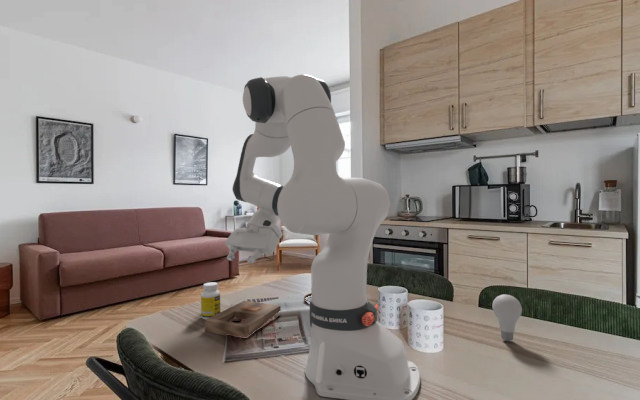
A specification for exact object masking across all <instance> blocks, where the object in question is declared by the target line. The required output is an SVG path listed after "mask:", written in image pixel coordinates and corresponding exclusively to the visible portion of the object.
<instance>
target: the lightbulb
mask: <svg viewBox="0 0 640 400" xmlns="http://www.w3.org/2000/svg"><path fill="white" fill-rule="evenodd" d="M491 306H492V311H493V314H494V315H495V317H496V318H497V322H498V324H499V330H500V337H501V338H502V340H504V341H505V342H510V341H511V342H512V341H513V340H514V332H515V331H516V324H517V322H518V320H519V319H520V317H521V316H522V313H523V308H522V304H521V302H520V300H518V299H517V298H516V297H514V296H513V295H510V294H500V295H497V296H496V297H495V298H494V299H493V301H492V305H491Z"/></svg>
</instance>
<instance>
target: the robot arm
mask: <svg viewBox="0 0 640 400" xmlns="http://www.w3.org/2000/svg"><path fill="white" fill-rule="evenodd" d="M242 104H243V107H244V110H245V113H246V116H247V117H248V118H249V119H250V120H251V121H252V122H253V123H254V122H255V125H254V126H255V127H254V132H253V133H252V134H249V135H248V136H247V137H246V138H245V140H244V143H243V146H242V148H241V152H240V158H239V163H238V167H237V172H236V176H235V178H234V182H233V184H232V193H233V195H234V197H235V199H236V200H238V201H241V202H244V203H248V204H250V205H253V206H254V207H258V208H257V210H256V211H255V212H254V213H253V214H252V216H251V218H250V219H249V221H248V222H247V224H246V225H245V226H240V227H239V228H236V229H234V230H233V231H232V232H231V234H230V235H228V237H227V239H226V240H225V243H224V245H225V246H226V247H227V248H228V249H229V251H228V252H229V253H228V255H227V256H226V259H227V260H228V261H234V259H235V258H236V256H235V254H236V253H237V251H238V252H239V251H240V252H247V253H253V254H252V255H249V256H248V257H247V258H246V261H247V262H248V263H249V264H254V263H255V261H256V260H257V259H259V258H260V257H261V256H262V255H263V254H265V255H271V254H273V252H274V251H275V250H276V249H277V246H278V245H279V242H280V239H281V238H282V237H283V234H284V233H283V232H282V231H281V229H280V228H279V227H278V225H277V222H278V221H279V220H280V221H281V223H282V226H284V228H286V229H287V231H289V232H291V233H294V234H300V235H306V236H307V235H309V236H319V235H327V234H328V238H327V240H326V243H325V245H324V247H323V249H322V250H321V251H320V252H319V253H317V255H316V256H315V257H314V259H313V260H312V263H311V265H310V266H311V267H310V275H311V277H310V278H311V280H310V281H311V282H310V283H311V287H310V288H312V297H311V300H309V301H310V305H309V326H310V328H311V332H310V344H309V352H308V355H307V361H306V365H305V367H304V373H305V376H306V379H307V380H308V381H309V382H311V384H312V385H313V386H314V387H315V391H316V393H317V395H318V396H320V397H324V398H330V399H340V400H413V399H414V398H415V397H416V395H417V394H418V392H419V389H420V385H421V373H420V370H419V368H418V366H417V365H416V364H415V362H412V361H410V360H408V357H407V356H408V355H407V350H406V348H405V345H404V343H403V341H402V339H400V338H399V337H398V336H397V335H396V334H394V333H392V331H390V330H389V329H388V328H387V327H385V326H384V325H383V324H382V323H380V322H379V321H378V310H379V309H378V307H379V305H378V304H377V303H376V304H375V305H373V304H372V303H371V302H370V301H369V299H368V298H367V296H368V293H367V290H368V289H367V287H368V285H367V284H368V282H367V281H368V280H367V279H368V272H367V270H368V261H369V256H370V251H371V248H372V244H373V241H374V238H375V235H376V233H377V231H378V228H379V227H380V226H381V225H382V223H383V222H384V221H385V220H386V218H387V216H388V215H389V212H390V207H391V200H390V196H389V192H388V190H387V189H386V187H384V186H383V185H382V184H381V183H380V182H376V181H374V180H371V179H367V178H364V177H341V176H340V175H339V174H338V172H337V169H336V162H337V161H338V160H339V159H341V156H342V155H343V153H344V151H345V147H346V144H345V140H344V136H343V133H342V130H341V128H340V124H339V121H338V118H337V116H336V113H335V110H334V107H333V106H332V105H333V104H332V94H331V89H330V88H329V86H328V84H327V83H326V81H325V80H323V79H321V78H317V77H314V76H312V75H310V74H303V73H302V74H296V75H294V76H282V75H281V76H272V77H264V78H263V77H262V76H261V77H256V78H252V79H250V80H248V81H247V82H246V84H245V85H244V88H243V93H242ZM290 147H291V151H292V155H293V170H292V175H291V177H290V179H289V180H288V182H286V184H285V185H281V184H280V183H276V182H274V181H272V180H269V179H265V178H263V177H260V176H258V175H257V174H255V173H254V167H255V163H256V159H257V158H274V157H277V156H281V155H282V154H284V153H286V152H287V151H288V150H289V149H290Z"/></svg>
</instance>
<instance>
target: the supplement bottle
mask: <svg viewBox="0 0 640 400" xmlns="http://www.w3.org/2000/svg"><path fill="white" fill-rule="evenodd" d="M218 288H219V286H218V283H217V282H216V281H214V282H213V281H212V282H205V283H203V291H202V292H201V294H200V305H201V308H200V313H201V315H200V316H201V318H202V320H206V319H208V318H210V317H212V316H214V315H216V314H218V313H220V312H221V292H220V290H219V289H218Z"/></svg>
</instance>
